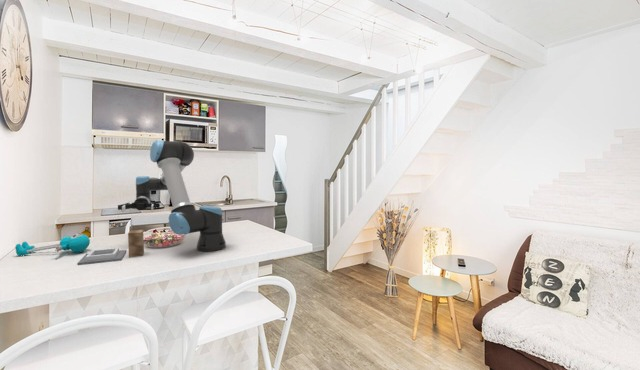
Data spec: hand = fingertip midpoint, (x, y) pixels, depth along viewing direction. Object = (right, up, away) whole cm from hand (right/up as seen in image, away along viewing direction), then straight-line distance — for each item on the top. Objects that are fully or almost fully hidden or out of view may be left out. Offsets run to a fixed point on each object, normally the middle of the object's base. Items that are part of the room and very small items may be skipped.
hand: (137, 208), depth 163 cm
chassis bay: (-8, -23, -14) cm, 28 cm away
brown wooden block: (+4, -23, -8) cm, 25 cm away
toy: (-38, -23, -7) cm, 45 cm away
